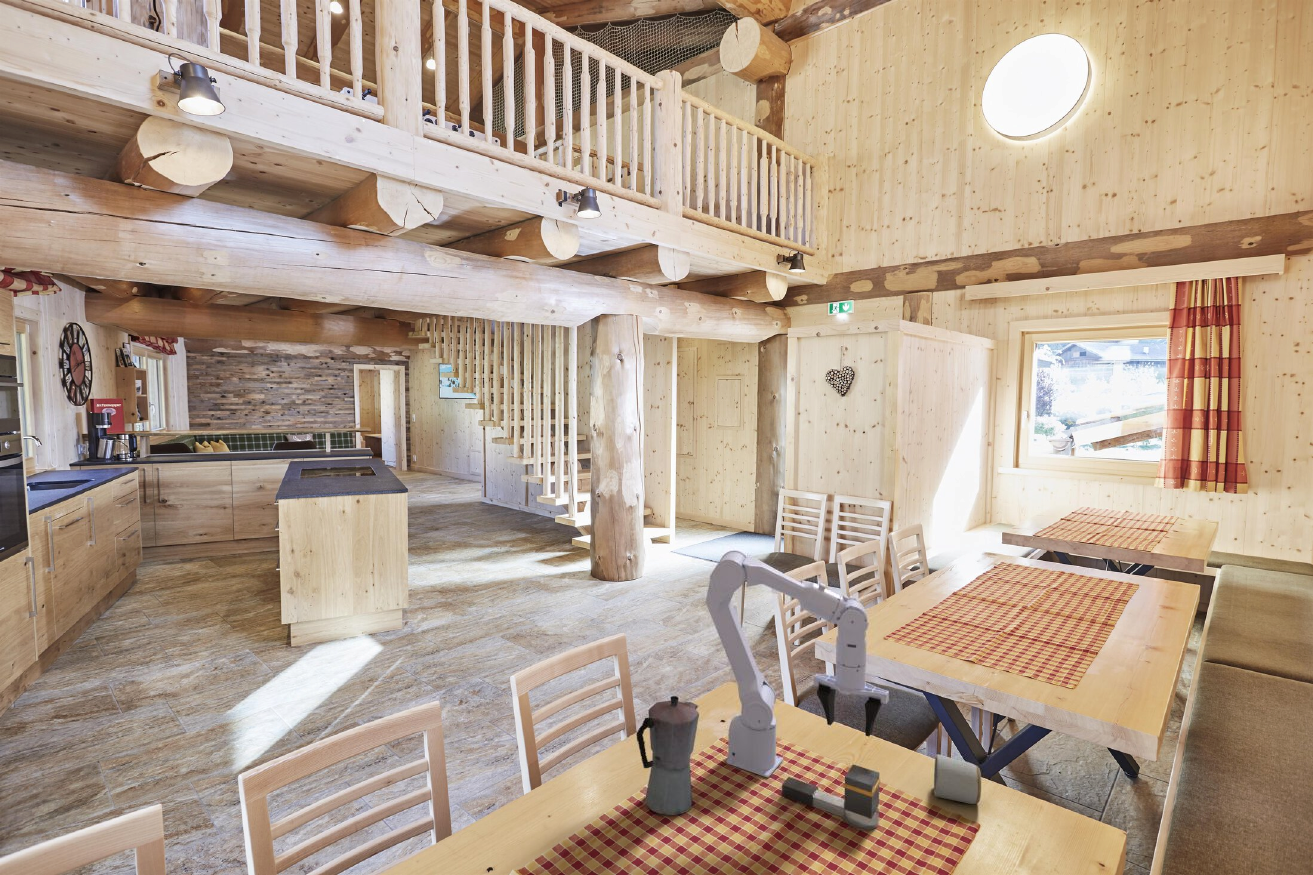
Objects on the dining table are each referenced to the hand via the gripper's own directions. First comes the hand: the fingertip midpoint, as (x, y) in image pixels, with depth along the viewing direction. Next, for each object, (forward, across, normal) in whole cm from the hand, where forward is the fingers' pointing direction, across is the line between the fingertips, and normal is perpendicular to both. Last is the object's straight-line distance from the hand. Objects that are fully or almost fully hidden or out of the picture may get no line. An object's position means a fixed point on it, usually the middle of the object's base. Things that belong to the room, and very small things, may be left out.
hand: (849, 728), depth 128 cm
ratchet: (+10, 0, -12) cm, 16 cm away
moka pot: (+10, -25, -28) cm, 39 cm away
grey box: (+8, +6, -12) cm, 15 cm away
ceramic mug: (+10, +18, +6) cm, 22 cm away
